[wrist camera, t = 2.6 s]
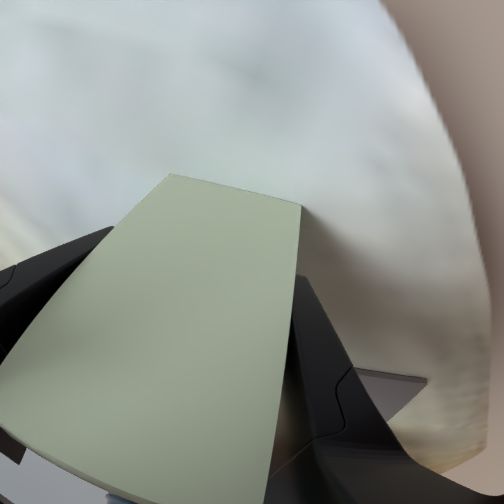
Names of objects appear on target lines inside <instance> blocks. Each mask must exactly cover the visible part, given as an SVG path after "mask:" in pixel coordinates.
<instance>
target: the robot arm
mask: <svg viewBox="0 0 504 504" xmlns="http://www.w3.org/2000/svg"><path fill="white" fill-rule="evenodd" d="M113 228H114V226H110V227H107V228H104V229H102V230H99V231H96V232H94V233H91V234H88V235H86V236H83V237H81V238H78V239H75V240H73V241H70V242H68V243H65V244H63V245H60V246H58V247H55V248H53V249H50V250H48V251H46V252H43V253H41V254H38V255H36V256H34V257H31V258H29V259H27V260H24V261H22V262H20V263H18V264H17V265H13V266H11V267H8V268H6V269H4V270H1V271H0V365H1V364H2V362H3V361H4V359H5V358H6V357H7V355H8V354H9V352H10V351H11V350H12V348H13V347H14V345H15V344H16V343H17V341H18V340H19V339H20V337H21V336H22V334H23V333H24V332H25V330H26V329H27V328H28V327H29V325H30V324H31V323H32V321H33V320H34V319H35V317H36V316H37V315H38V314H39V312H40V311H41V310H42V309H43V307H44V306H45V305H46V304H47V302H48V301H49V300H50V299H51V298H52V296H53V295H54V294H55V293H56V292H57V290H58V289H59V288H60V287H61V286H62V284H63V283H64V282H65V281H66V280H67V279H68V277H69V276H70V275H71V274H72V273H73V272H74V271H75V269H76V268H77V267H78V266H79V265H80V264H81V263H82V262H83V260H84V259H85V258H86V257H87V256H88V255H89V254H90V253H91V252H92V251H93V249H94V248H95V247H96V246H97V245H98V244H99V243H100V242H101V241H102V240H103V239H104V238H105V237H106V236H107V235H108V234H109V233H110V232H111V230H112V229H113ZM26 448H27V447H25V446H24V445H22V444H21V443H19V442H18V441H16V440H15V439H13V438H12V437H11V436H10V435H8V434H7V433H6V432H5V431H4V430H3V429H2V428H1V427H0V452H1V453H2V454H4V455H5V456H7V457H8V458H9V459H11V460H12V461H14V462H15V463H16V464H18V465H19V464H20V462H21V460H22V458H23V455H24V453H25V451H26ZM0 504H14V503H12V502H11V501H9V500H8V499H7V498H6V497H4V496H3V495H1V494H0ZM263 504H504V494H503V495H500V496H489V495H484V494H480V493H478V492H475V491H473V490H471V489H469V488H467V487H464V486H462V485H460V484H458V483H456V482H454V481H452V480H450V479H448V478H446V477H443V476H441V475H439V474H437V473H435V472H434V471H432V470H430V469H428V468H426V467H424V466H422V465H420V464H419V463H417V462H416V461H414V460H413V459H412V458H411V457H410V456H409V455H408V454H407V452H406V451H405V450H404V449H403V447H402V446H401V444H400V443H399V441H398V440H397V438H396V436H395V435H394V433H393V432H392V430H391V429H390V427H389V426H388V424H387V423H386V421H385V419H384V418H383V416H382V415H381V413H380V412H379V410H378V409H377V407H376V405H375V404H374V402H373V401H372V399H371V397H370V396H369V394H368V392H367V390H366V389H365V387H364V385H363V383H362V381H361V379H360V377H359V376H358V374H357V372H356V370H355V368H354V367H353V364H352V362H351V360H350V358H349V356H348V354H347V352H346V351H345V349H344V347H343V345H342V343H341V341H340V339H339V337H338V335H337V333H336V331H335V330H334V328H333V326H332V324H331V322H330V320H329V318H328V316H327V314H326V313H325V311H324V309H323V307H322V305H321V303H320V301H319V300H318V298H317V296H316V294H315V292H314V290H313V289H312V287H311V285H310V283H309V281H308V279H307V278H306V277H305V276H301V275H297V274H295V283H294V293H293V302H292V311H291V320H290V328H289V337H288V345H287V353H286V361H285V368H284V376H283V383H282V391H281V398H280V405H279V411H278V418H277V425H276V431H275V437H274V444H273V450H272V456H271V462H270V468H269V473H268V479H267V485H266V490H265V496H264V501H263Z"/></svg>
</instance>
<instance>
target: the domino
mask: <svg viewBox="0 0 504 504" xmlns="http://www.w3.org/2000/svg"><path fill="white" fill-rule="evenodd" d="M300 218H301V205H300V204H296V203H292V202H288V201H284V200H281V199H277V198H273V197H269V196H265V195H261V194H257V193H253V192H249V191H244V190H240V189H236V188H232V187H228V186H223V185H219V184H215V183H210V182H206V181H201V180H197V179H192V178H187V177H183V176H178V175H173V174H169V175H168V176H167V177H166V178H165V179H164V180H163V181H162V182H161V183H160V184H158V185H157V186H156V187H155V188H154V189H153V190H152V191H151V192H150V193H149V194H148V195H147V196H146V197H145V198H144V199H143V200H142V201H140V202H139V203H138V204H137V205H136V206H135V207H134V208H133V209H132V210H131V211H130V212H129V213H128V214H127V215H126V216H125V217H124V218H123V219H122V220H121V221H120V222H119V223H118V224H117V225H116V226H115V227H114V228H113V229H112V230H111V232H110V233H109V234H108V235H107V236H106V237H105V238H104V239H103V240H102V241H101V242H100V243H99V244H98V245H97V246H96V247H95V248H94V249H93V251H92V252H91V253H90V254H89V255H88V256H87V257H86V258H85V259H84V260H83V262H82V263H81V264H80V265H79V266H78V267H77V268H76V269H75V271H74V272H73V273H72V274H71V275H70V276H69V277H68V279H67V280H66V281H65V282H64V283H63V284H62V286H61V287H60V288H59V289H58V290H57V292H56V293H55V294H54V295H53V296H52V298H51V299H50V300H49V301H48V302H47V304H46V305H45V306H44V307H43V309H42V310H41V311H40V312H39V314H38V315H37V316H36V317H35V319H34V320H33V321H32V323H31V324H30V325H29V327H28V328H27V329H26V330H25V332H24V333H23V334H22V336H21V337H20V339H19V340H18V341H17V343H16V344H15V345H14V347H13V348H12V350H11V351H10V352H9V354H8V355H7V357H6V358H5V359H4V361H3V362H2V364H1V365H0V427H1V428H2V429H3V430H4V431H5V432H6V433H7V434H8V435H10V436H11V437H12V438H13V439H15V440H16V441H18V442H19V443H21V444H22V445H24V446H25V447H27V448H28V449H30V450H31V451H33V452H35V453H36V454H38V455H39V456H41V457H43V458H44V459H46V460H48V461H49V462H51V463H53V464H55V465H56V466H58V467H60V468H62V469H64V470H65V471H67V472H69V473H71V474H73V475H75V476H77V477H79V478H81V479H83V480H85V481H87V482H89V483H91V484H93V485H95V486H97V487H99V488H102V489H104V490H106V491H108V492H111V493H113V494H115V495H118V496H120V497H123V498H125V499H128V500H130V501H133V502H136V503H138V504H263V501H264V496H265V490H266V485H267V479H268V473H269V468H270V462H271V456H272V450H273V444H274V437H275V431H276V425H277V418H278V411H279V405H280V398H281V391H282V383H283V376H284V368H285V361H286V353H287V345H288V337H289V328H290V320H291V311H292V302H293V293H294V283H295V273H296V263H297V252H298V241H299V230H300Z"/></svg>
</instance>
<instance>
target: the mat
mask: <svg viewBox="0 0 504 504" xmlns="http://www.w3.org/2000/svg"><path fill="white" fill-rule="evenodd" d="M355 370H356V372H357V374H358V376H359V377H360V379H361V381H362V383H363V385H364V387H365V389H366V390H367V392H368V394H369V396H370V397H371V399H372V401H373V402H374V404H375V405H376V407H377V409H378V410H379V412H380V413H381V415H382V416H383V418H384V419H385V421H386V422H387V421H388V420H389V419H390V418H392V417H393V416H394V415H395V414H396V413H397V412H398V411H399V410H401V409H402V408H403V407H404V406H405V405H406V404H407V403H408V402H409V401H410V400H411V399H412V398H413V397H415V396H416V395H417V394H418V393H419V392H420V391H421V390H422V389H423V388H424V387H425V386H426V385H427V380H426V379H425V378H417V377H409V376H402V375H395V374H388V373H381V372H375V371H369V370H363V369H357V368H355Z"/></svg>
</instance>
